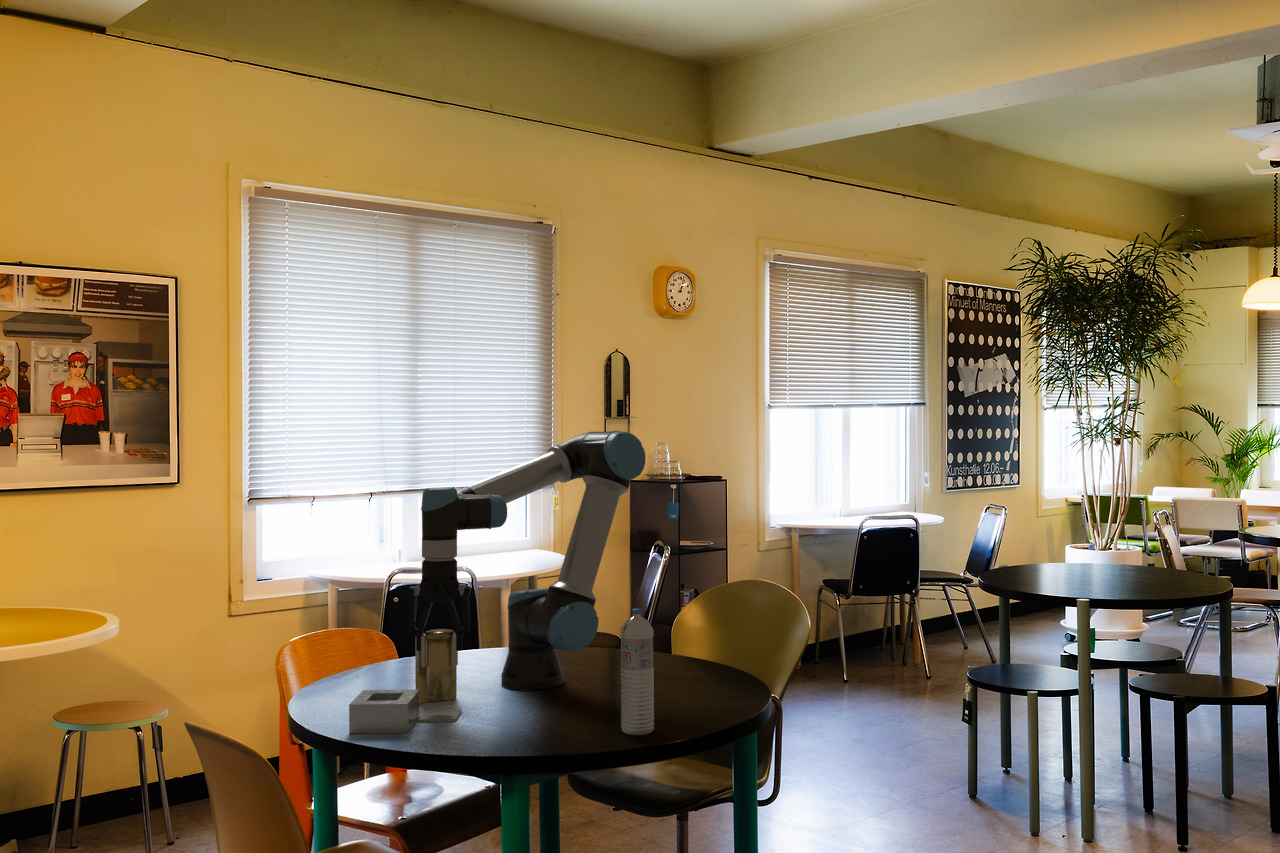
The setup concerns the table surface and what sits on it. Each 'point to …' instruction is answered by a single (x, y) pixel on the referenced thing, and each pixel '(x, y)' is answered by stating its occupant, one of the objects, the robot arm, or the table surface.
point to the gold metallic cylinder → (439, 664)
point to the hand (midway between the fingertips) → (439, 665)
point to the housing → (384, 711)
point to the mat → (440, 715)
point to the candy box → (422, 679)
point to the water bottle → (637, 676)
